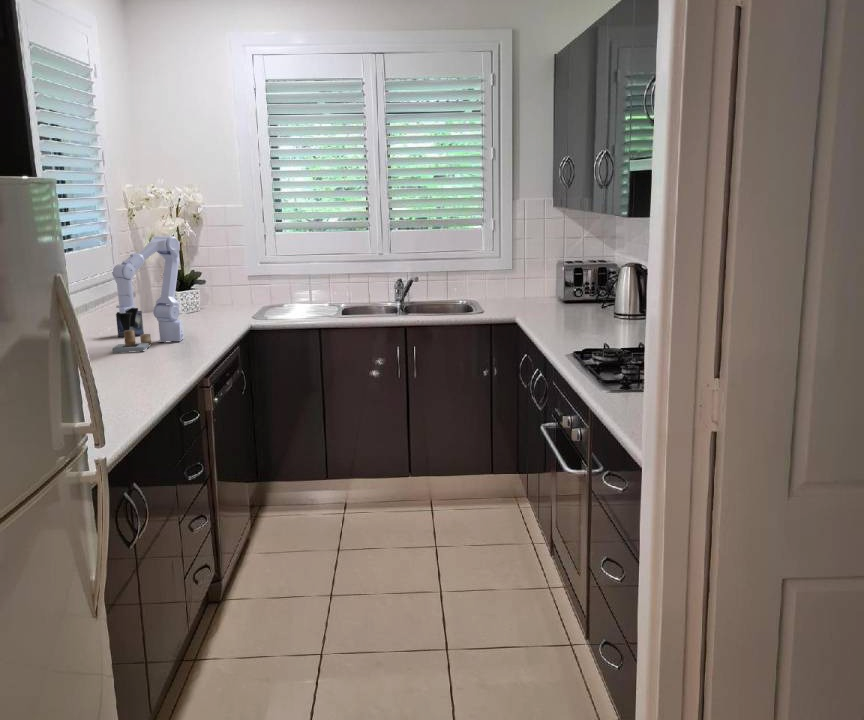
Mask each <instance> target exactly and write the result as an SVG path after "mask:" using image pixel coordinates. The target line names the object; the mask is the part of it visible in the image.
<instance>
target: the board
mask: <svg viewBox="0 0 864 720" xmlns="http://www.w3.org/2000/svg"><path fill="white" fill-rule="evenodd" d="M148 347H149V348H150V346H149V343H141V342H139V343H136V347H125V343H118V344H117V345H116V346H115V345H114V346H113V348H112V353H113V354H121V353H120V352H129V351H143V350H145V349H146V348H148ZM149 348H148V349H149ZM118 352H119V353H118Z"/></svg>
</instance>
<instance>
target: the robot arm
mask: <svg viewBox="0 0 864 720" xmlns="http://www.w3.org/2000/svg"><path fill="white" fill-rule="evenodd" d="M180 245H181V243H180V241H179V240H178V238H177V237H176V236H173V235H172V236H171V235H170V236H164V235H163V236H162V235H161V236H160V235H155V236H153V238H152V239H150V241H149V243H148V244H147V245H146V246H145V247H143V249H142V250H140V252H138V253H135V252H134V253H131V254H130V255H129V257H128V258H126V259H125V260H123V261H122V262H121V264H119V263H118V264H116V265H114V267H113V269H112V272H111V275H112V276H113V278H114V281H115V283H116V288H117V289H116V290H117V297H118V298H117V299H118V305H116V307H115V308H116V309H118V311H117V312H118V313H117V312H116V313H115V315H116V314H117V316H118V318H119V319H120V321H121V324H122V327H123V329H124V330H130V327H134V326H135V320H136V314H137V311H139V307H136V304H135V298H134V296H135V295H134V289H133V278H134V276H135V273H136V272H137V271H138V270H140V268H141V267H143V266H144V265H145V260H147V259H148V258H150V257H151V256H153V255H154V254H155V253H158V254H159V255H160V256H161V257H163V258H164V260H165V263H164V269H163V277H162V278H163V279H162V283H161V285H162V286H161V294H160V296H159V297H158V299H157V300H156V301H155V306H153V309H152V310H153V316H154V318H156V321H158V332H159V340H158V341H157V342H164V343H167V342H166V341H180V340H182V339H183V338H184V339H185V337H184V326H183V321H182V320H181V319H179V320H178V318H179V316H180V313H181V312H180V303H179V301H177V299H175V298H176V288H177V282H178V280H177V279H178V275H179V273H178V272H179V264H180V248H181V247H180ZM184 339H183V340H184ZM183 340H182V341H183Z"/></svg>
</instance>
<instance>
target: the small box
mask: <svg viewBox="0 0 864 720" xmlns="http://www.w3.org/2000/svg"><path fill="white" fill-rule="evenodd" d="M118 312H119V311H117V312H116V313H118ZM116 313H115V318H116V320H115V321H116V327H117V329H116V330H117V337H118V338H124V331H127V330H124V329H123V327H122V324H121V321H120V319H119V318H118V316H117V314H116ZM130 330H134V333H135V337H140V335H142V334H145V331H144V322H143V310H138V311H137V314H136V320H135V326H134V327H130Z"/></svg>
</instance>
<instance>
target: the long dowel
mask: <svg viewBox="0 0 864 720" xmlns="http://www.w3.org/2000/svg"><path fill="white" fill-rule="evenodd" d="M123 338H124V344H125V347H136V344H137V343H136V336H135V333H134V330H127V331H124V337H123Z"/></svg>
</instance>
